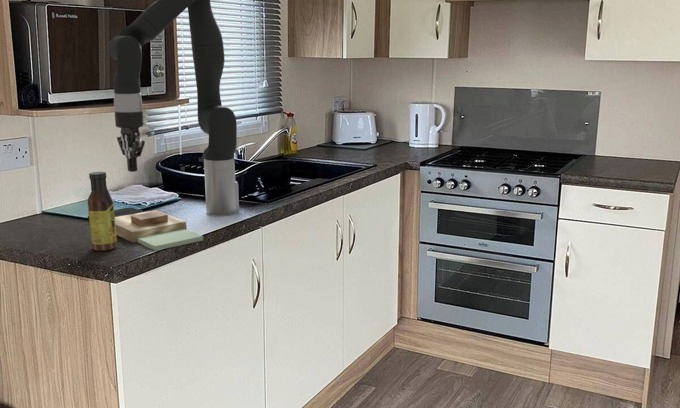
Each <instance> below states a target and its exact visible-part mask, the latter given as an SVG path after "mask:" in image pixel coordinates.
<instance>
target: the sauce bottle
mask: <svg viewBox="0 0 680 408" xmlns="http://www.w3.org/2000/svg"><path fill="white" fill-rule="evenodd" d="M88 177H89V180H90V187H91V188H90V190H91V191H90V194H89V196H88V198H87V206H88V207H87V208H88V210H87V212H88V214H87V215H88V216H89V219H88V222H89V232H90V239H91V240H90V241H91V245H92V247H91V248H92V249H93V250H94V251H96V252H105V251H111V250H114V249H115V248H116V247H117V241H118V240H117V239H118V237H117V235H116V227H115V215H114V210H115V208H114V207H115V206H114V201H113V199H112V197H111V195H110V192H109V190H108V187H107V172H105V171H94V172H89V173H88Z"/></svg>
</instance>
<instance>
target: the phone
mask: <svg viewBox="0 0 680 408" xmlns="http://www.w3.org/2000/svg"><path fill="white" fill-rule="evenodd" d="M142 212H143V210H142V209H137V208H134V207H131V206H130V207H124V208H123V207H122V208H118V209H114V215H115V217H119V216H124V215H130V214H136V213H142ZM88 218H89V215H87V219H88Z"/></svg>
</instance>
